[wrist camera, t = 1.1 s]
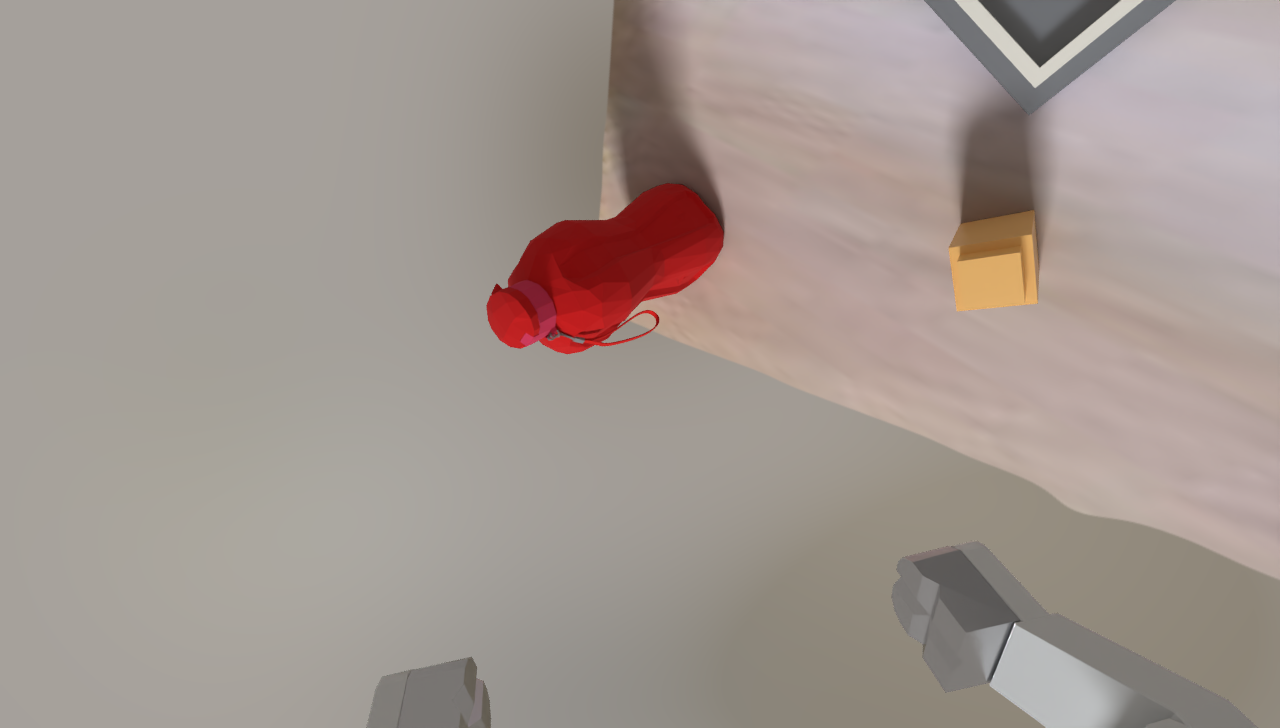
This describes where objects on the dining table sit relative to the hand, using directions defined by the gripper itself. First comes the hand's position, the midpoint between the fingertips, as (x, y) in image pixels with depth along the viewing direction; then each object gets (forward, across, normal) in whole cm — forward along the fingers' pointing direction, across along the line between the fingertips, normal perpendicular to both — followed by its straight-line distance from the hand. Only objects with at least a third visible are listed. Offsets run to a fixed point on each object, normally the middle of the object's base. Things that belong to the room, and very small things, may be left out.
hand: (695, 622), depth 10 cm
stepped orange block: (+29, -31, +7) cm, 43 cm away
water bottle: (+47, -12, +9) cm, 49 cm away
